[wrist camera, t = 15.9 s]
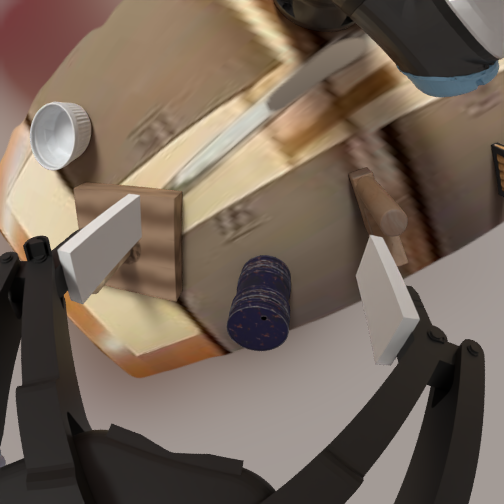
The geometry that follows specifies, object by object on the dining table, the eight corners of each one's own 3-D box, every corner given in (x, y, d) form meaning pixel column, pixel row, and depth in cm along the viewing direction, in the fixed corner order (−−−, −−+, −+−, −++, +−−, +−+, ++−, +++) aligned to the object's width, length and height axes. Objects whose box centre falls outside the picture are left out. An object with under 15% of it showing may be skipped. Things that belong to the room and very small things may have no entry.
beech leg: (119, 226, 55) (75, 267, 42) (139, 229, 55) (97, 273, 41) (121, 246, 58) (80, 290, 44) (141, 250, 57) (102, 297, 44)
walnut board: (85, 182, 52) (73, 188, 48) (182, 191, 51) (174, 198, 47) (97, 271, 63) (89, 281, 59) (182, 290, 62) (176, 301, 58)
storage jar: (279, 303, 60) (274, 358, 47) (234, 287, 60) (218, 340, 47) (299, 265, 55) (300, 318, 42) (250, 247, 55) (237, 297, 42)
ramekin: (53, 161, 50) (32, 171, 44) (50, 103, 44) (27, 107, 38) (98, 161, 50) (77, 170, 44) (97, 95, 43) (74, 97, 37)
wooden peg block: (365, 228, 50) (392, 288, 34) (347, 173, 46) (375, 213, 30) (383, 222, 49) (418, 279, 33) (367, 166, 44) (405, 203, 29)
